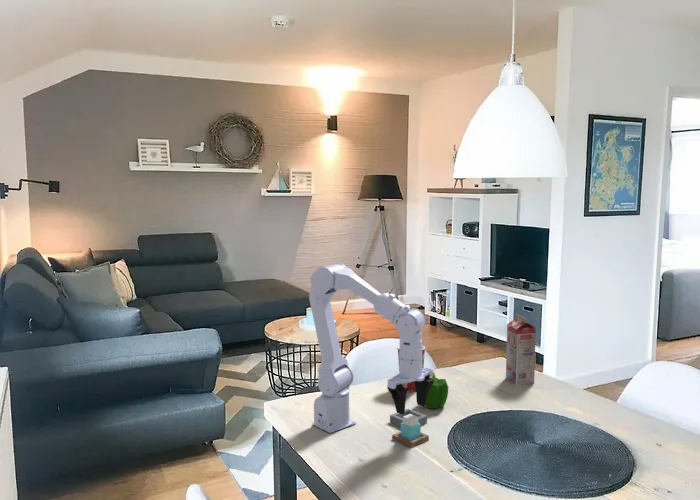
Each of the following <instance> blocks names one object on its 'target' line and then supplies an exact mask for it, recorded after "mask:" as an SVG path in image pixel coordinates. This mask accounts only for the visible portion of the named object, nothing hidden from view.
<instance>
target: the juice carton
mask: <svg viewBox="0 0 700 500" xmlns="http://www.w3.org/2000/svg"><path fill="white" fill-rule="evenodd" d="M505 354H506V358H505V359H506V360H505V361H506V362H505V379H506V380H508V381H509V382H511V383H512V384H514V385H515V386H517V385H518V386H519V385H528V384H535V367H536V366H535V365H536V361H535V360H536V327H535V326H534V325H532V324H530V323H528V318H527V317H525V316H522V315H520V314H518V313H515V318H514V319H512V320H511V321H510V322H508V323H507V324H506V353H505Z"/></svg>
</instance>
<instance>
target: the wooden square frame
mask: <svg viewBox="0 0 700 500" xmlns="http://www.w3.org/2000/svg"><path fill="white" fill-rule="evenodd" d="M391 438H392V439H391V440H393V441H396V442H398V443H400V444H402V445H404V446H406V447H409V448H413V447H416V446H418V445H421V444H423V443H425V442H428V441H430V436H429V435H428V434H426V433H424V432H421V435H420V438H417V439H415V440H412V441H409V440H407V439H405V438H403V437H401V431H398V432H396V433H393V434H392V437H391Z"/></svg>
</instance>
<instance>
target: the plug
mask: <svg viewBox="0 0 700 500" xmlns="http://www.w3.org/2000/svg"><path fill="white" fill-rule="evenodd" d="M421 426H422V425H421V424H420V423H418V417H417V416H415V415H412V414H409V415H406V416H403V423H401V427H400V432H401V437H403V438H405V439H407V440H409V441H412V440H415V439H417V438H420V435H421V433H422V432H421V431H422V430H421Z"/></svg>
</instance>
